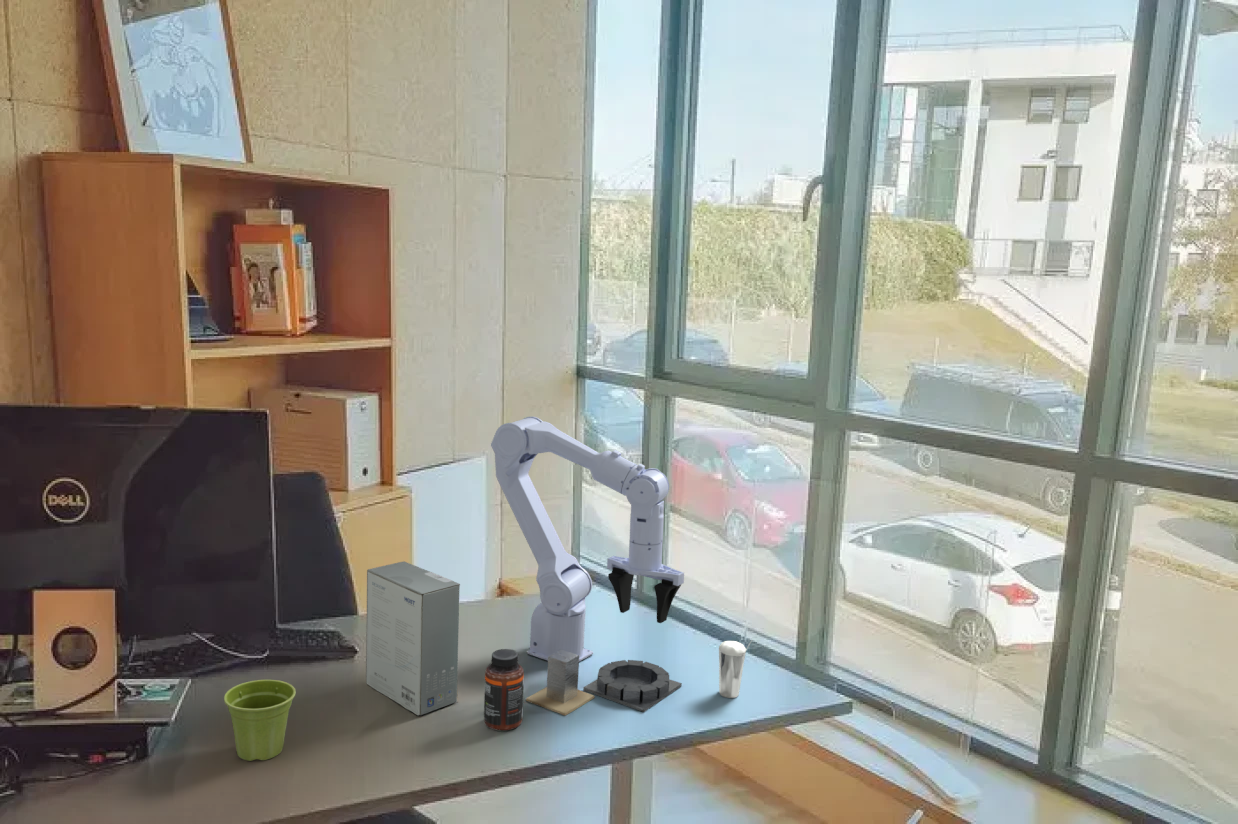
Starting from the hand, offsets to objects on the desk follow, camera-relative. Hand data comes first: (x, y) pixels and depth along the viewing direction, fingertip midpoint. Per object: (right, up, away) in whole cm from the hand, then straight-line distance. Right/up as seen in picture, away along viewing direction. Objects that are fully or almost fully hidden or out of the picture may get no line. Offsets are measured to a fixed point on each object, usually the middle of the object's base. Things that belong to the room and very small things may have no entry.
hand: (643, 616), depth 166 cm
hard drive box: (-38, -11, -11) cm, 41 cm away
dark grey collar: (-2, -11, -5) cm, 12 cm away
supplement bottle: (-22, -13, -19) cm, 32 cm away
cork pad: (-14, -11, -10) cm, 20 cm away
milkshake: (+15, -12, -5) cm, 20 cm away
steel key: (-14, -11, -10) cm, 20 cm away
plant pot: (-55, -13, -30) cm, 64 cm away
